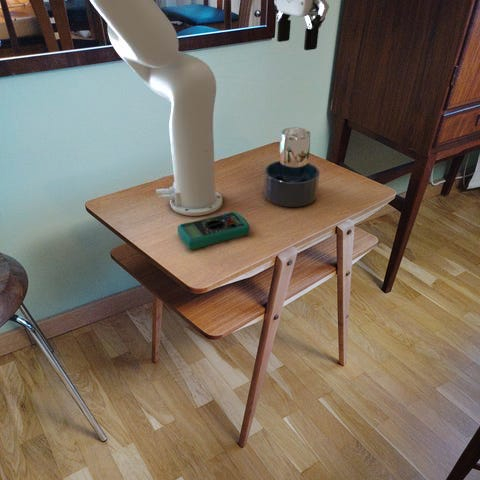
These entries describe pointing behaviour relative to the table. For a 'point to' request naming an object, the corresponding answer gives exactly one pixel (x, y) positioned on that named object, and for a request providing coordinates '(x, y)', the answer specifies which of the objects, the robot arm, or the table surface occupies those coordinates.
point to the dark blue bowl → (290, 186)
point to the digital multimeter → (213, 230)
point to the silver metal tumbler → (294, 154)
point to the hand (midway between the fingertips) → (296, 45)
